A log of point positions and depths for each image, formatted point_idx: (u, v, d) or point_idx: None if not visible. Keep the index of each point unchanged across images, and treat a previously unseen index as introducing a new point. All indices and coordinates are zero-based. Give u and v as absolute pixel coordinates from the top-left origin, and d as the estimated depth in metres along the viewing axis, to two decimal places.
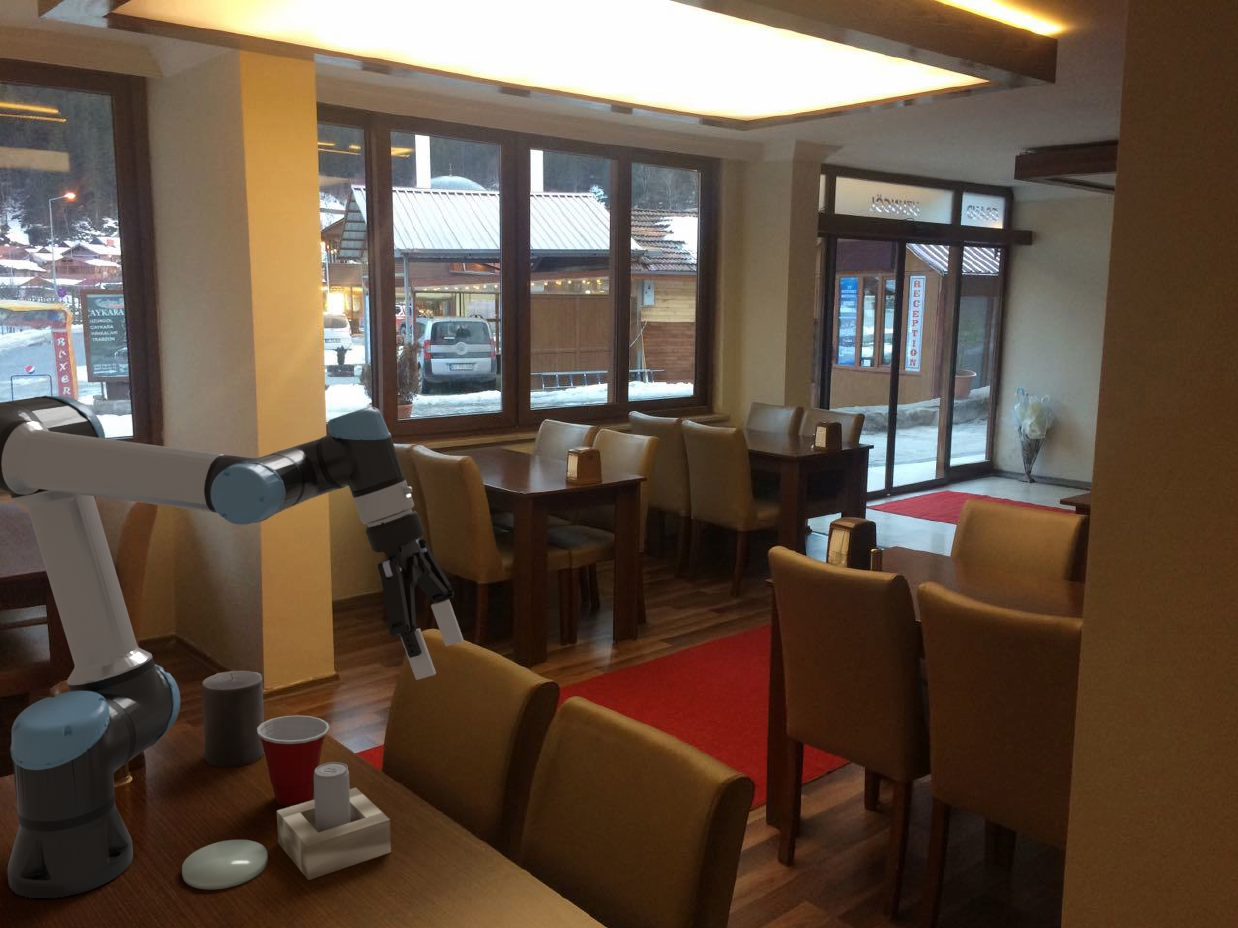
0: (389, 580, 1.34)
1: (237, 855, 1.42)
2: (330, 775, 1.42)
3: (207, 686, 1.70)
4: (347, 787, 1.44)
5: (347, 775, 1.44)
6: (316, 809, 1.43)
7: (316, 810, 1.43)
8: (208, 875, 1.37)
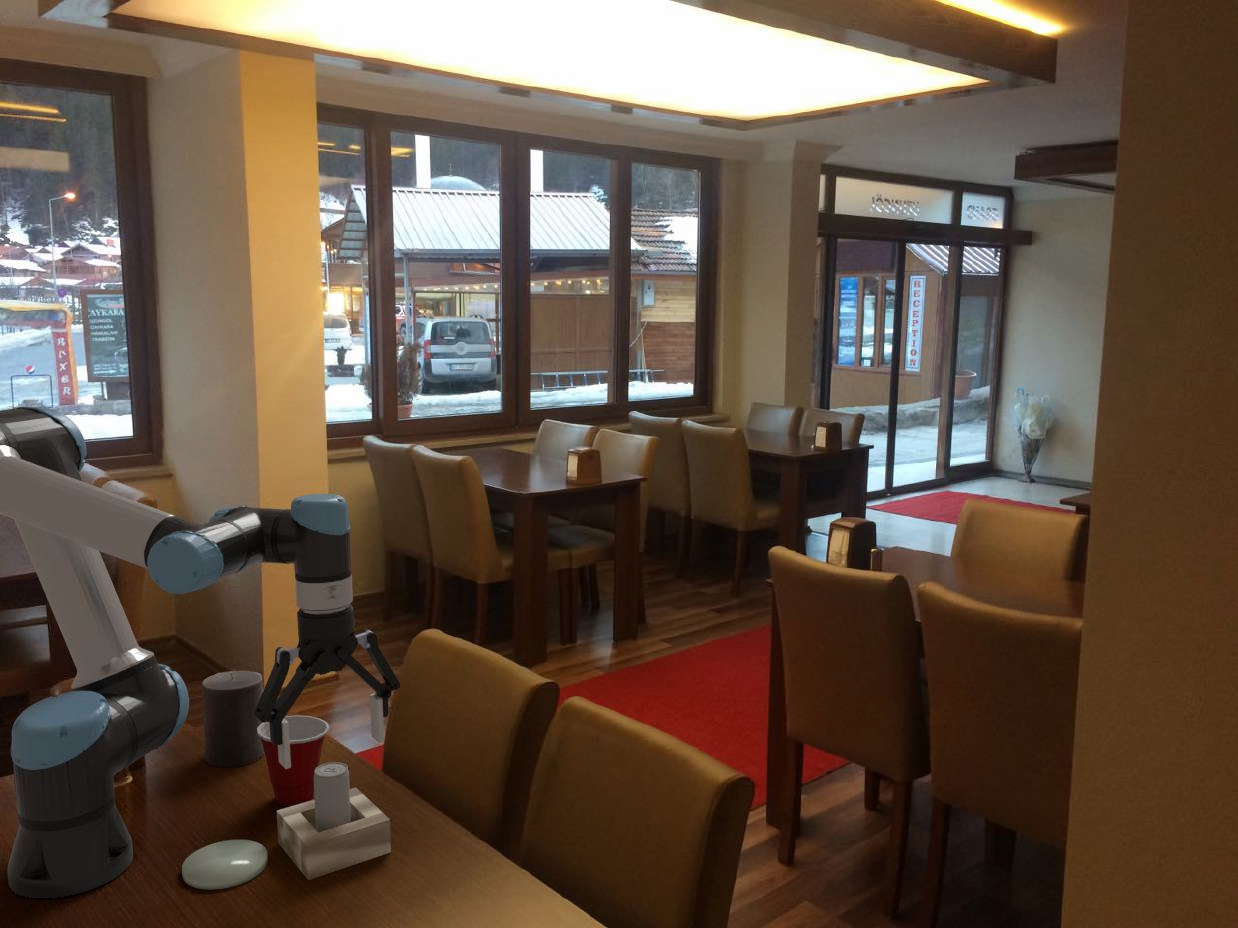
0: (276, 667, 1.37)
1: (237, 855, 1.42)
2: (329, 775, 1.42)
3: (207, 686, 1.70)
4: (347, 787, 1.44)
5: (347, 775, 1.44)
6: (316, 809, 1.43)
7: (316, 810, 1.43)
8: (208, 875, 1.37)
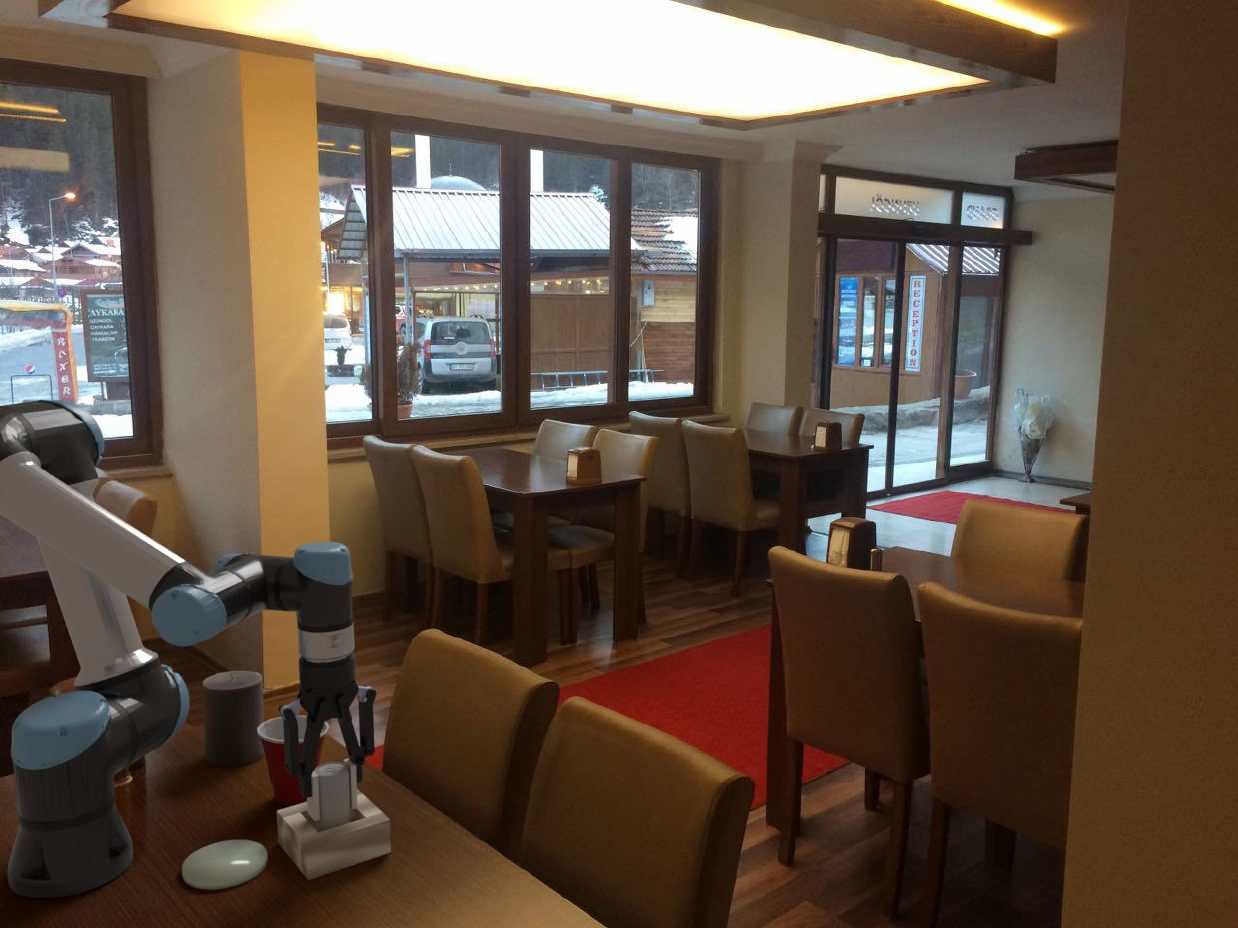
0: (286, 724, 1.39)
1: (237, 855, 1.42)
2: (329, 775, 1.42)
3: (207, 686, 1.70)
4: (347, 787, 1.44)
5: (347, 775, 1.44)
6: None
7: None
8: (208, 875, 1.37)
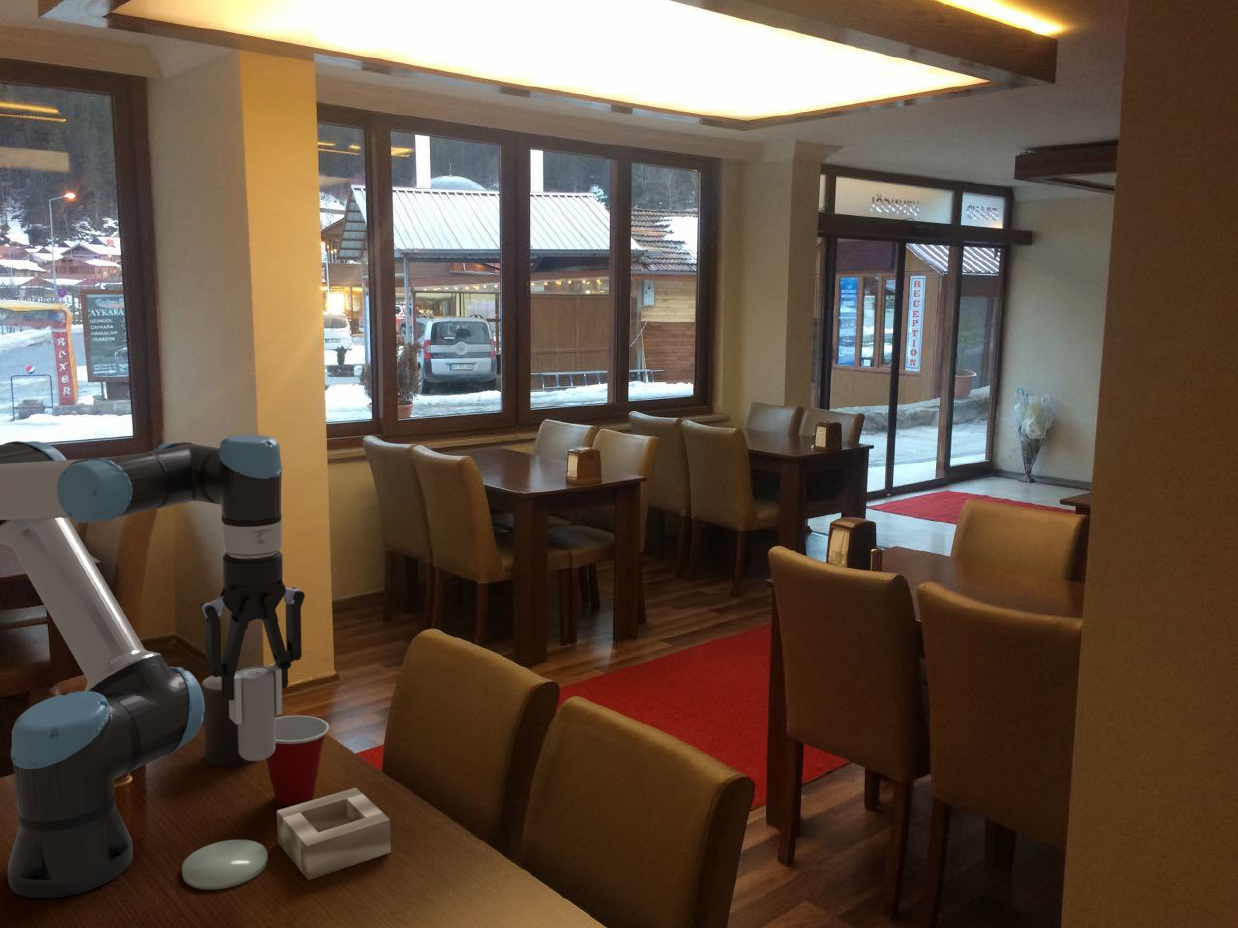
0: (207, 623, 1.34)
1: (237, 855, 1.42)
2: (253, 678, 1.37)
3: (207, 686, 1.70)
4: (272, 691, 1.39)
5: (272, 679, 1.39)
6: None
7: None
8: (208, 875, 1.37)
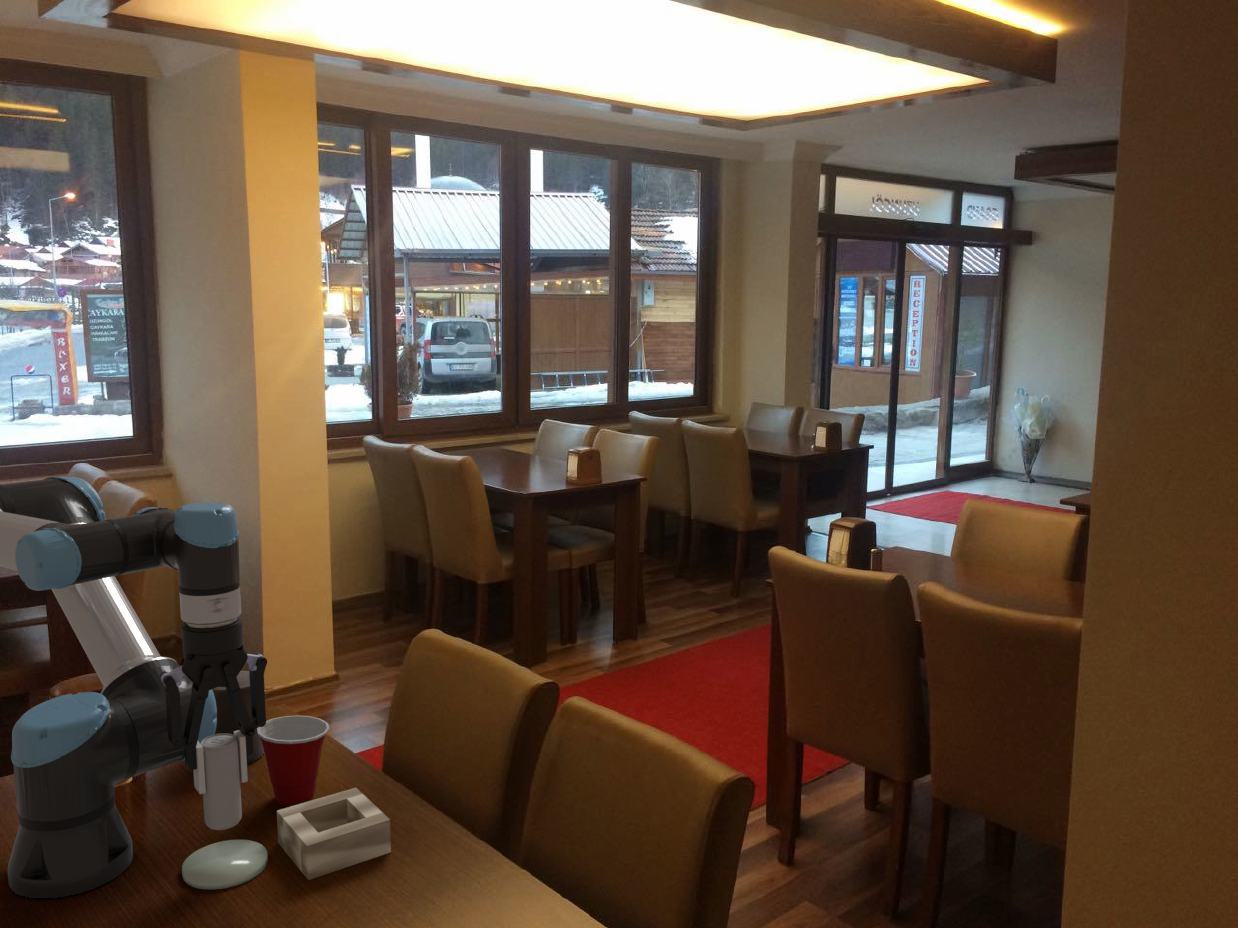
0: (167, 693, 1.33)
1: (237, 855, 1.42)
2: (216, 746, 1.36)
3: None
4: (235, 759, 1.38)
5: (235, 746, 1.38)
6: None
7: None
8: (208, 875, 1.37)
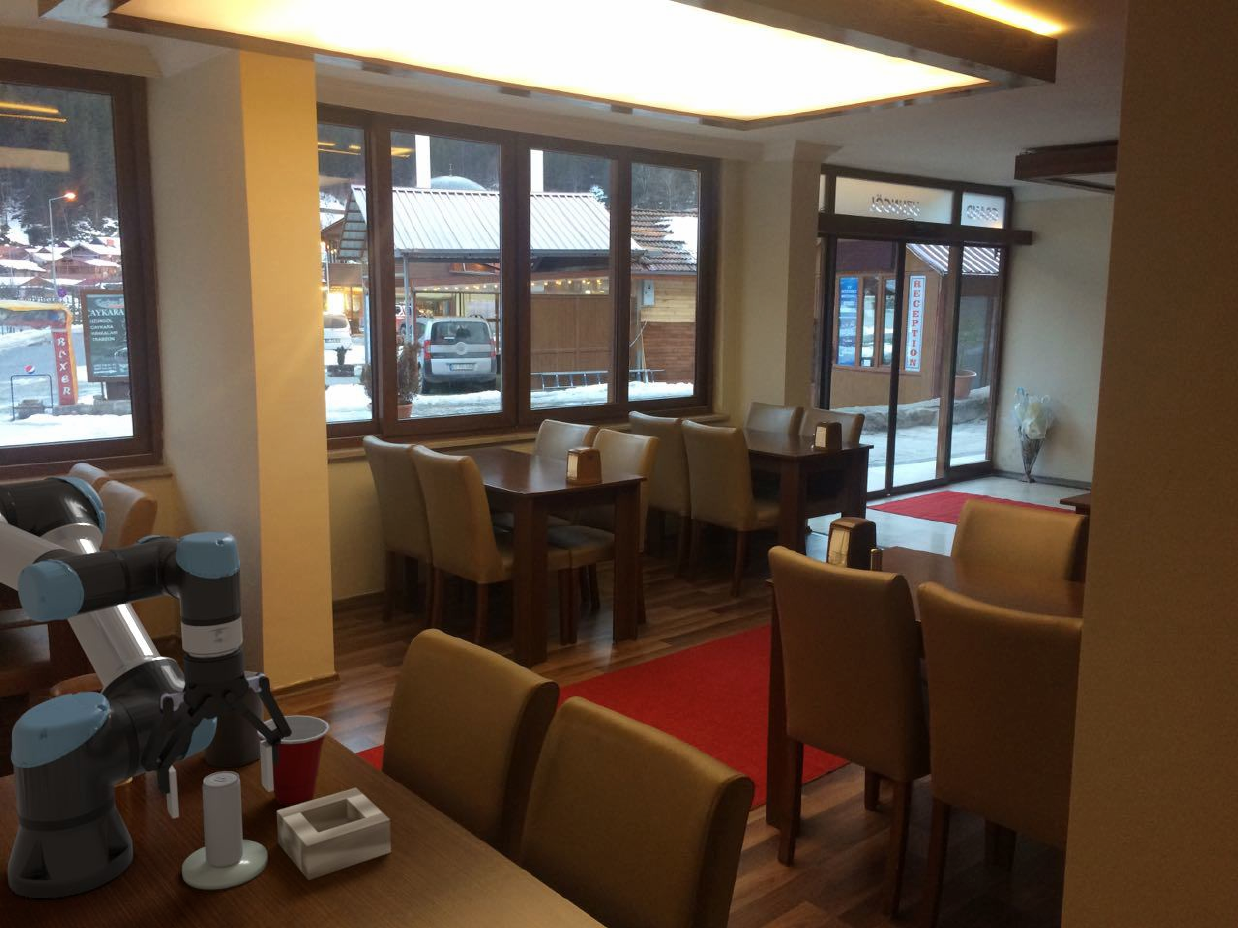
0: (160, 714, 1.33)
1: None
2: (218, 785, 1.37)
3: None
4: (237, 797, 1.39)
5: (237, 785, 1.39)
6: (204, 820, 1.38)
7: (204, 821, 1.38)
8: (208, 875, 1.37)
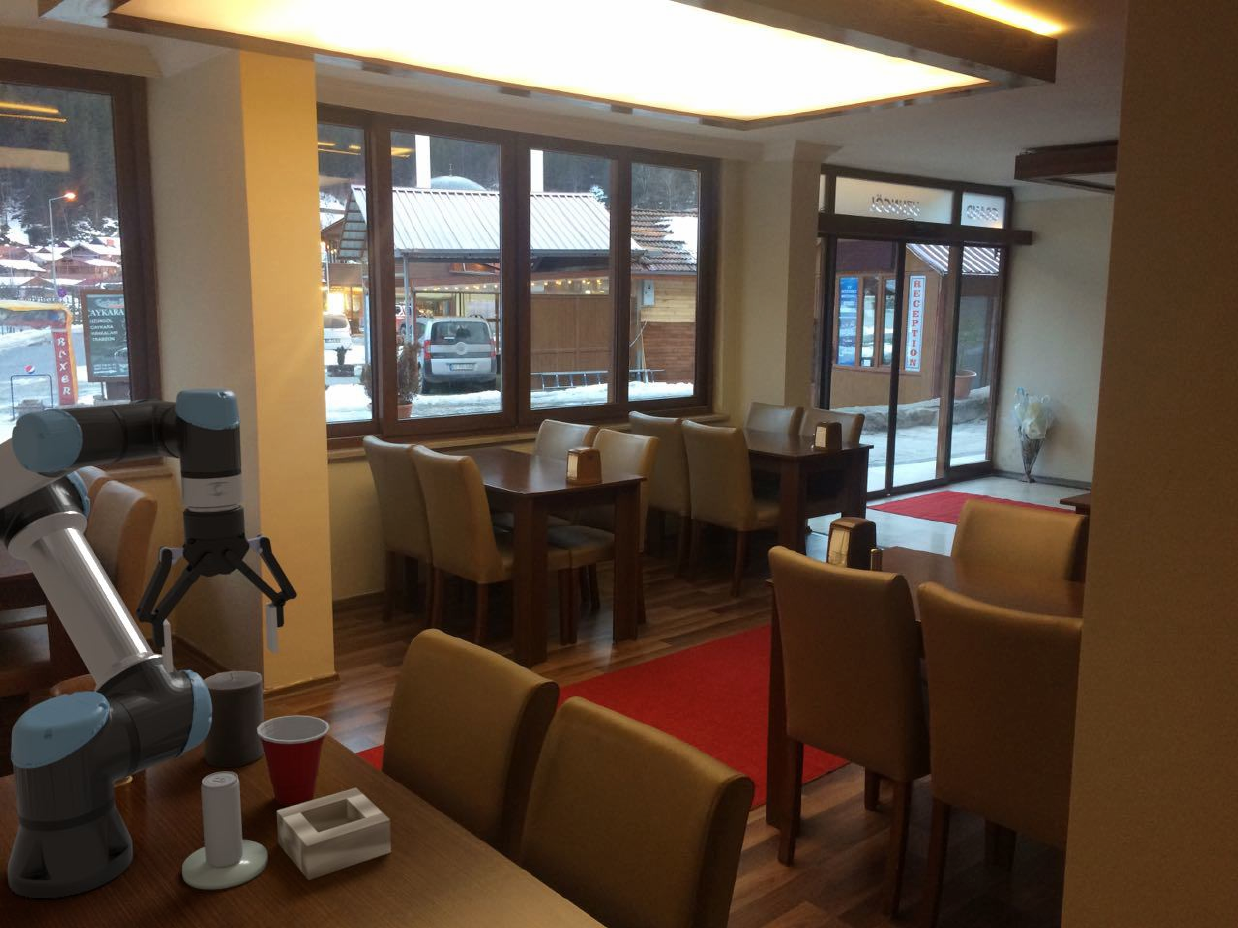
0: (158, 566, 1.32)
1: None
2: (217, 786, 1.37)
3: (207, 686, 1.70)
4: (236, 798, 1.39)
5: (236, 785, 1.38)
6: (204, 820, 1.38)
7: (204, 821, 1.38)
8: (208, 875, 1.37)
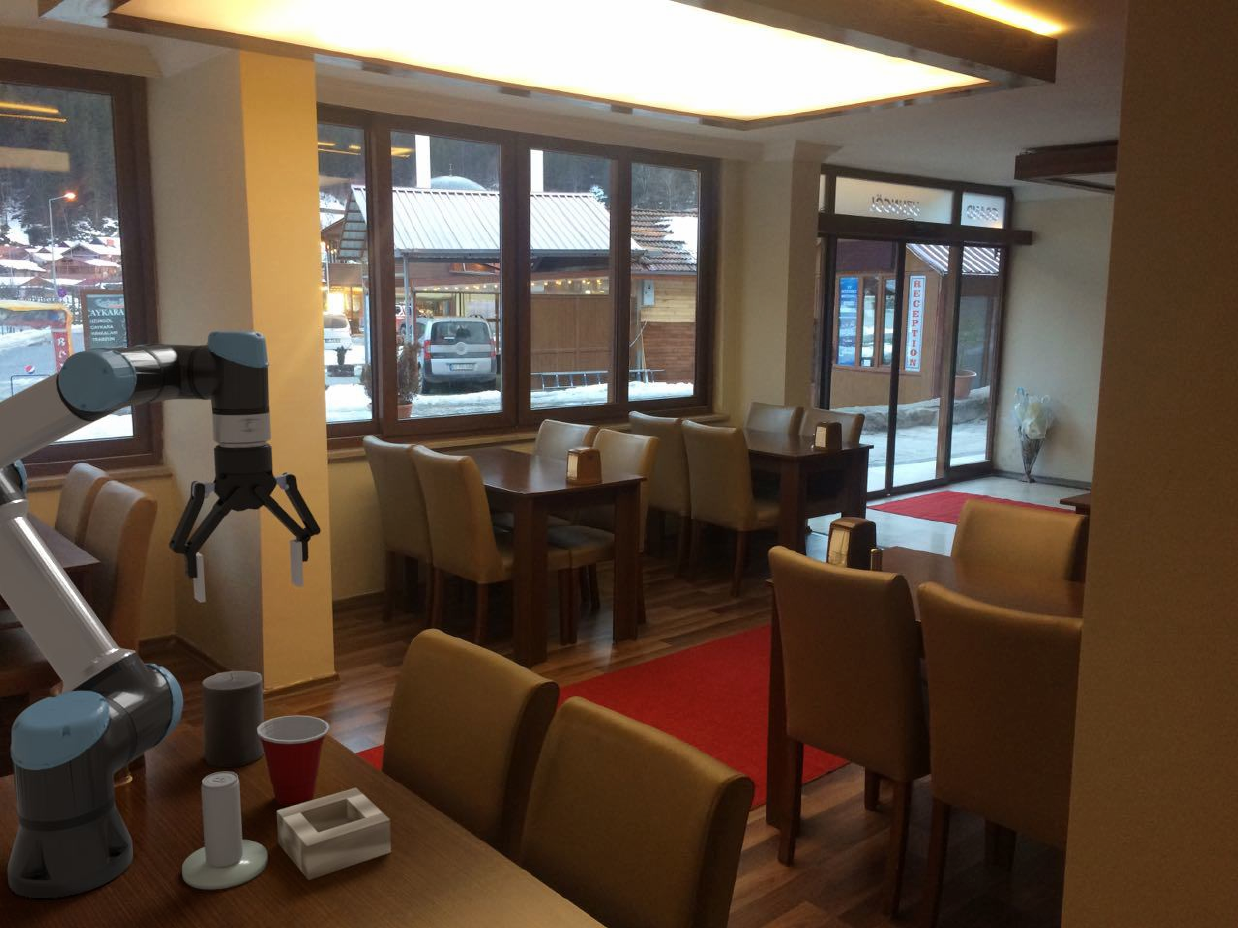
0: (191, 500, 1.38)
1: None
2: (217, 785, 1.37)
3: (207, 686, 1.70)
4: (236, 798, 1.39)
5: (236, 785, 1.39)
6: (204, 820, 1.38)
7: (204, 821, 1.38)
8: (208, 875, 1.37)
